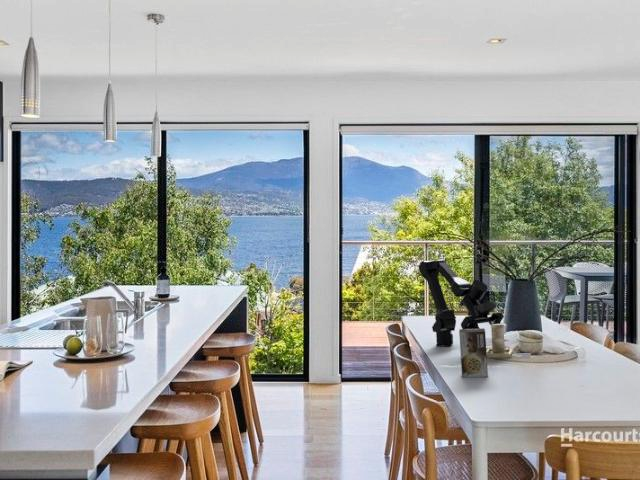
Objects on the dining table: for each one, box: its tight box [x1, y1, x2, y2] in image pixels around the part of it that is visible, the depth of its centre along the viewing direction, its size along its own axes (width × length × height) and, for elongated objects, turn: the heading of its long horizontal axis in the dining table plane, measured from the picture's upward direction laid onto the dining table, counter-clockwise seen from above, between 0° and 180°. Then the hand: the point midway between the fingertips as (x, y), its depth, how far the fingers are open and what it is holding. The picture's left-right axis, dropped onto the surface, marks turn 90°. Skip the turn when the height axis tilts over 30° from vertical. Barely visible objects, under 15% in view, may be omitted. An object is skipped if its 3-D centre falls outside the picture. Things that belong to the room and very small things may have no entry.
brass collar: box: [486, 349, 513, 359], centre depth 266 cm, size 10×10×2 cm
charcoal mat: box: [487, 352, 532, 360], centre depth 271 cm, size 24×24×1 cm
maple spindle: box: [490, 323, 507, 353], centre depth 266 cm, size 6×6×12 cm
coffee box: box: [458, 327, 489, 378], centre depth 237 cm, size 9×6×16 cm
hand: (492, 337), depth 269 cm, fingers open, 9 cm apart
